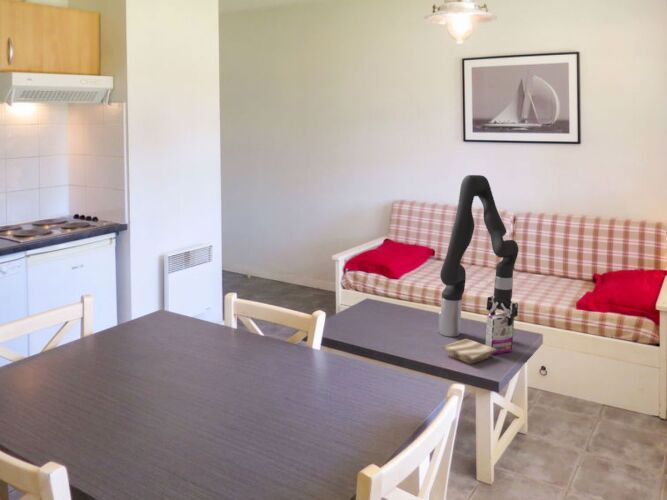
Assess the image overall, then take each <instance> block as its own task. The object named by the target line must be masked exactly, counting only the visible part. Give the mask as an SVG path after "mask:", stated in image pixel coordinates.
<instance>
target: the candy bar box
mask: <svg viewBox="0 0 667 500" xmlns="http://www.w3.org/2000/svg"><path fill="white" fill-rule="evenodd" d="M507 323H508V315H507V313H505V312H504V313H501V314H498V315H491V316H489V315H487V316H486V327H485V328H486V329H485V330H486V331H485V332H486V333H485V343H484V345H486V346H489V347H492V348H495V349H497V350H496V352H493V353H490V354H489V355H491V356H493V355H500V354H507V353H511V352H513V339H514V338H513V337H514V326H515V325H514V323H515V317H513V324H512V325H511V326H508V325H507Z"/></svg>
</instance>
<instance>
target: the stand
mask: <svg viewBox="0 0 667 500" xmlns="http://www.w3.org/2000/svg"><path fill="white" fill-rule="evenodd" d="M441 347H442V348H441V349H443V350H446V351H447V352H448V356H449V355H450V357H451V356H452V358H454V357H455V358H454V359H456V360H459V361H461V362H462V361H463V362H464V363H466V364H470V365H472V364H475V363H478V362H481V361H484V360H486V359H489V358H490V355H491V354H490V353H493V352H496V350H497V349H495V348H492V347H489V346H486V345H485V344H484V343H480V342H478V341H475V340H472V339H469V338H464V339H461V340H457V341H454V342H451V343H447V344H445V345H443V346H441Z"/></svg>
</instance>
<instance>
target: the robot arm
mask: <svg viewBox="0 0 667 500" xmlns="http://www.w3.org/2000/svg"><path fill="white" fill-rule="evenodd" d="M460 184H461V185H460V191H459V197H458V202H457V203H458V204H457V208H456V214H455V219H454V222H453V226H452V230H451V233H450V234H451V235H450V239H449V243H448V246H447V247H448V248H447V251H446V255H445V258H444V262H443V264H442V267H441V270H440V275H439V276H440V280H441V282H442V283H443V284H444V285H445V288H444V289H443V290H442V292H441V304H440V305H441V306H440V312H439V313H438V322H437V323H438V324H437V325H438V326H437V333H439V334H440V335H442V336H443V337H449V338H450V337H458V336H460V333H461V320H462V304H463V303H462V302H463V295H464V292H465V287H466V278H467V273H466V269H465V266H463V265H462V264H461V261H462V258H463V256H464V255H465V252H466V251H467V250H468V247H469V246H470V244H471V243H472V239H473V236H474V231H475V220H474V216H473V212H472V211H473V209H472V208H473V202H474V199H475V197H478V198H479V200H480V201H481V204H482V206H483V222H484V225H485V227H486V230H487V232H488V234H489V236H490V240H491V241H490V242H491V247H492V251H493V253H494V254H495V256H496V257H498V258H501V259H502V260H501V261H499V262H497V263H496V265H495V278H494V286H493V287H494V289H493V296H488V297H487V300H486V301H487V302H486V308H485V309H486V310H487V311H489V314H490V316H491V315H495V313H497V312H496V311H497V310H499V311H503V312H504V314H505V313H507V315H508V323H507V325H508V326H511V325H512V324H513V317H514V318H516V317H518V316H519V315H518V313H519V312H518V310H519V303H518V302H513V301H512V298H513V288H514V287H513V285H514V280H513V278H514V276H513V275H514V267H515V264H516V261H517V258H518V254H519V245H518V243H517V242H516V241H515V240H514V239H506V240H504V238H503V237H504V236H505V235H506V234H507V228H506V226H505V224H504V222H503V220H502V218H501V215H500V213H499V211H498V209H497V206H496V201H495V198H494V195H493V192H492V189H491V186H490V183H489V180H488V178H487V177H486V176H484V175H480V174H471V175H470V174H468V175H466V176H464V177H463V179H462V181H461V183H460ZM493 303H494V304H493Z"/></svg>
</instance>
